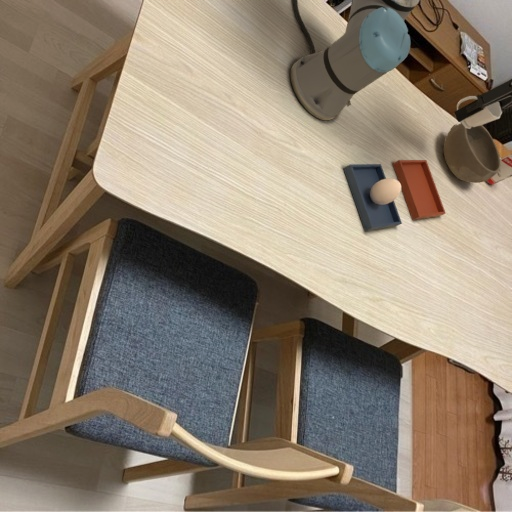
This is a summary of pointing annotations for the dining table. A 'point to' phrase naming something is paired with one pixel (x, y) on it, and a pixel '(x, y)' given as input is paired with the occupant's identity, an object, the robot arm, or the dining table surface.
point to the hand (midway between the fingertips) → (464, 117)
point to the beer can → (503, 170)
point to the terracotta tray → (419, 189)
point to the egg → (385, 191)
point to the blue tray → (360, 185)
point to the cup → (481, 114)
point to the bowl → (471, 153)
